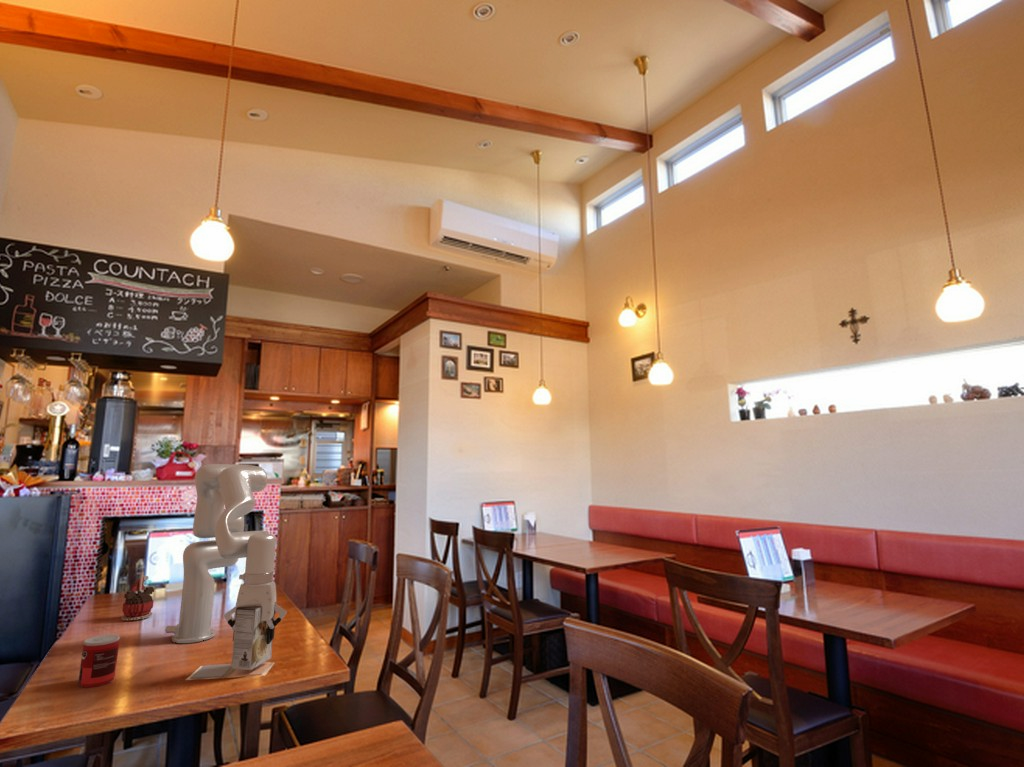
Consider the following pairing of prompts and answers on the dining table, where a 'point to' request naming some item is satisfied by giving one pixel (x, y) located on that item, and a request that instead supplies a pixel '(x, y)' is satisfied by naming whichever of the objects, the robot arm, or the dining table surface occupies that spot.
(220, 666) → the slate pad
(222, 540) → the robot arm
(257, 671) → the terracotta pad
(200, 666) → the serving board
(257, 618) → the coffee box
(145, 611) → the cake
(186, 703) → the dining table surface
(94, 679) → the canned food
